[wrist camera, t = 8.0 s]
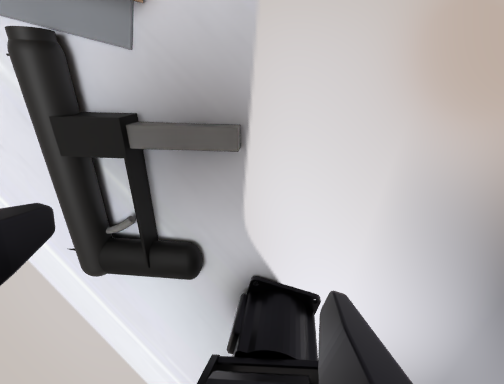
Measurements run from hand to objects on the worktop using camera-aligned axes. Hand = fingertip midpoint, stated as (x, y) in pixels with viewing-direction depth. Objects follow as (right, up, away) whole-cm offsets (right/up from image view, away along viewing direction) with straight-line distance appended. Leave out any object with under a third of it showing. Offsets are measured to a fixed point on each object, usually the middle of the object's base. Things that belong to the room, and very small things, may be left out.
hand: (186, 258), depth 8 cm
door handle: (-7, +4, +13) cm, 15 cm away
